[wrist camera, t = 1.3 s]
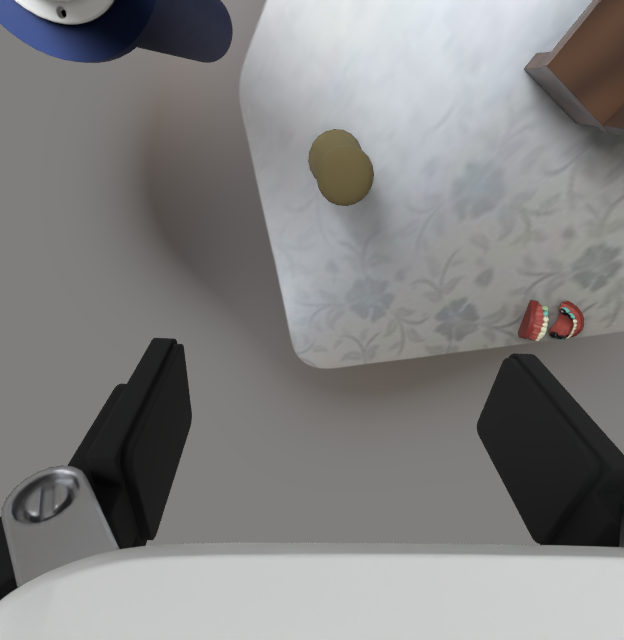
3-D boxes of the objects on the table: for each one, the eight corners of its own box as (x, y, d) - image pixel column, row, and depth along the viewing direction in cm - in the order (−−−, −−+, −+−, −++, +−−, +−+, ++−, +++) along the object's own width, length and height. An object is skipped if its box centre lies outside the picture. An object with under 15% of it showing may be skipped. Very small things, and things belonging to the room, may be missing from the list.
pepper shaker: (340, 116, 41) (354, 126, 31) (372, 162, 43) (394, 184, 34) (297, 155, 43) (298, 176, 33) (330, 197, 45) (340, 227, 36)
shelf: (518, 67, 39) (566, 64, 32) (614, -54, 34) (693, -87, 28) (577, 128, 42) (632, 136, 36) (672, 25, 38) (756, 12, 31)
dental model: (579, 349, 53) (523, 348, 53) (561, 333, 57) (509, 332, 57) (596, 314, 51) (536, 313, 50) (576, 299, 54) (520, 298, 54)
